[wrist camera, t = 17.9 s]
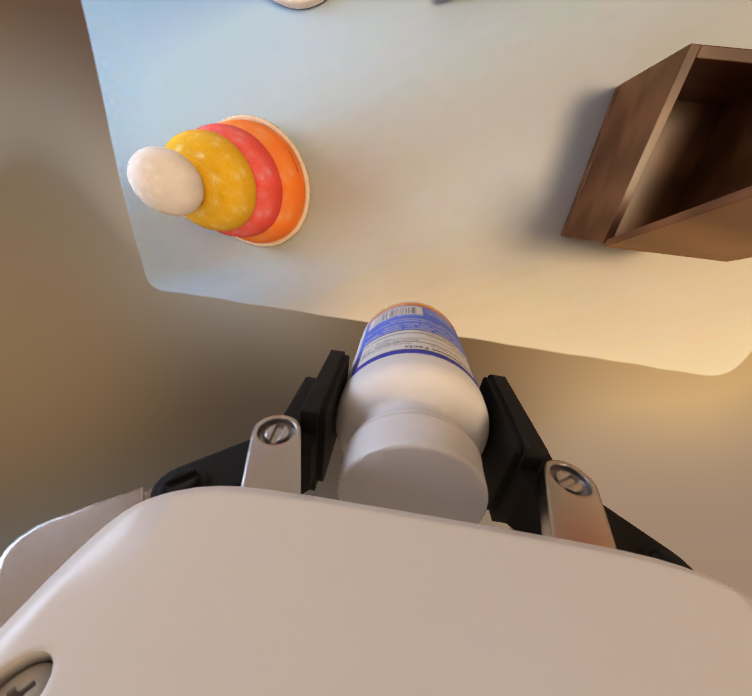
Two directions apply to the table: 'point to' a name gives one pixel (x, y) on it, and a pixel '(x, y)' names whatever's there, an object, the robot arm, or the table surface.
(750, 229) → the lid
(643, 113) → the chest
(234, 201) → the stacking toy
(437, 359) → the pill bottle
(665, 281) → the table surface
